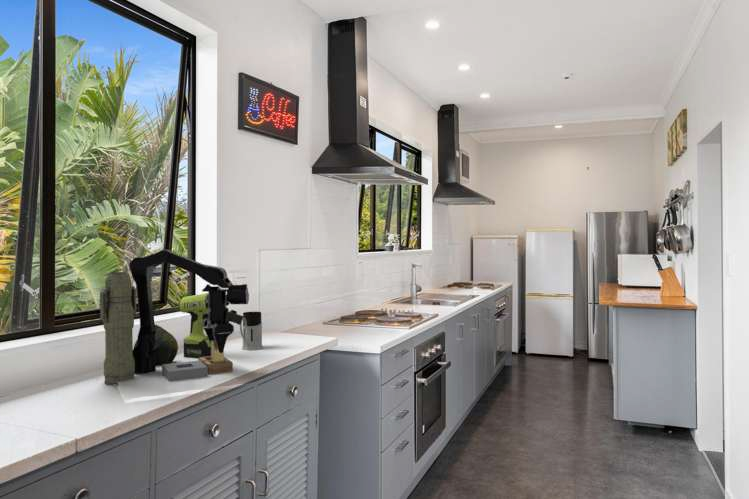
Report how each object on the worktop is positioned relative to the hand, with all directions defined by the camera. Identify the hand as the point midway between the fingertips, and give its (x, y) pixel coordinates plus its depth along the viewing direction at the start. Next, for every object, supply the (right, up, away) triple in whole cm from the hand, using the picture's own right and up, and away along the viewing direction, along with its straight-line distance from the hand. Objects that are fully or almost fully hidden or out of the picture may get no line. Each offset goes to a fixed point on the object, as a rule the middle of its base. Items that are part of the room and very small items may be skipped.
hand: (217, 350), depth 186 cm
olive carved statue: (-29, -8, -11) cm, 31 cm away
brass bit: (0, -7, 0) cm, 7 cm away
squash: (-27, -8, +14) cm, 31 cm away
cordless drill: (-11, -8, +27) cm, 31 cm away
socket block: (-9, -8, -6) cm, 14 cm away
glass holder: (+1, -8, +42) cm, 42 cm away
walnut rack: (-2, -8, +3) cm, 8 cm away
